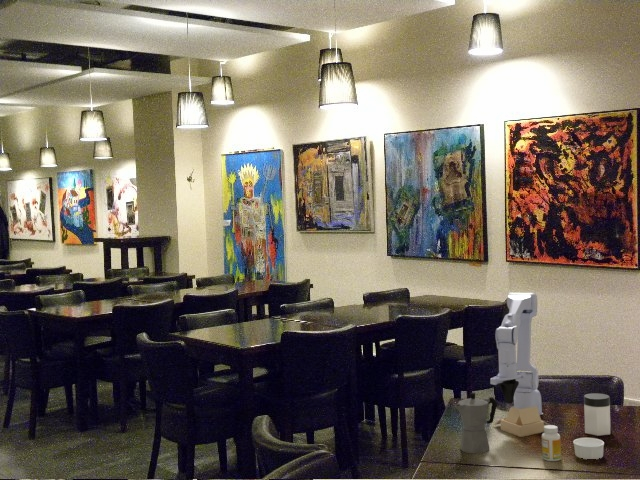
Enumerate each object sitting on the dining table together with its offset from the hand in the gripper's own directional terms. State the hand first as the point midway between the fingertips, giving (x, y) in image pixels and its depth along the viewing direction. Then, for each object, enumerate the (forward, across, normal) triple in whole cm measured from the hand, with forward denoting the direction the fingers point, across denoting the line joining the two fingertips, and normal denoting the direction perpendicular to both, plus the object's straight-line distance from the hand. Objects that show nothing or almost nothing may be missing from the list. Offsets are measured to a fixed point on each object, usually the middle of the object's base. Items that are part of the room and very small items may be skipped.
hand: (508, 402), depth 271 cm
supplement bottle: (+10, +12, +28) cm, 32 cm away
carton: (+10, -3, +3) cm, 11 cm away
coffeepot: (+10, +22, +7) cm, 25 cm away
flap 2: (+6, +2, +2) cm, 7 cm away
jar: (+10, -20, +20) cm, 30 cm away
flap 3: (+6, -3, +8) cm, 10 cm away
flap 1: (+6, -4, -2) cm, 8 cm away
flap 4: (+6, -8, +3) cm, 11 cm away
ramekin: (+10, +1, +33) cm, 35 cm away
